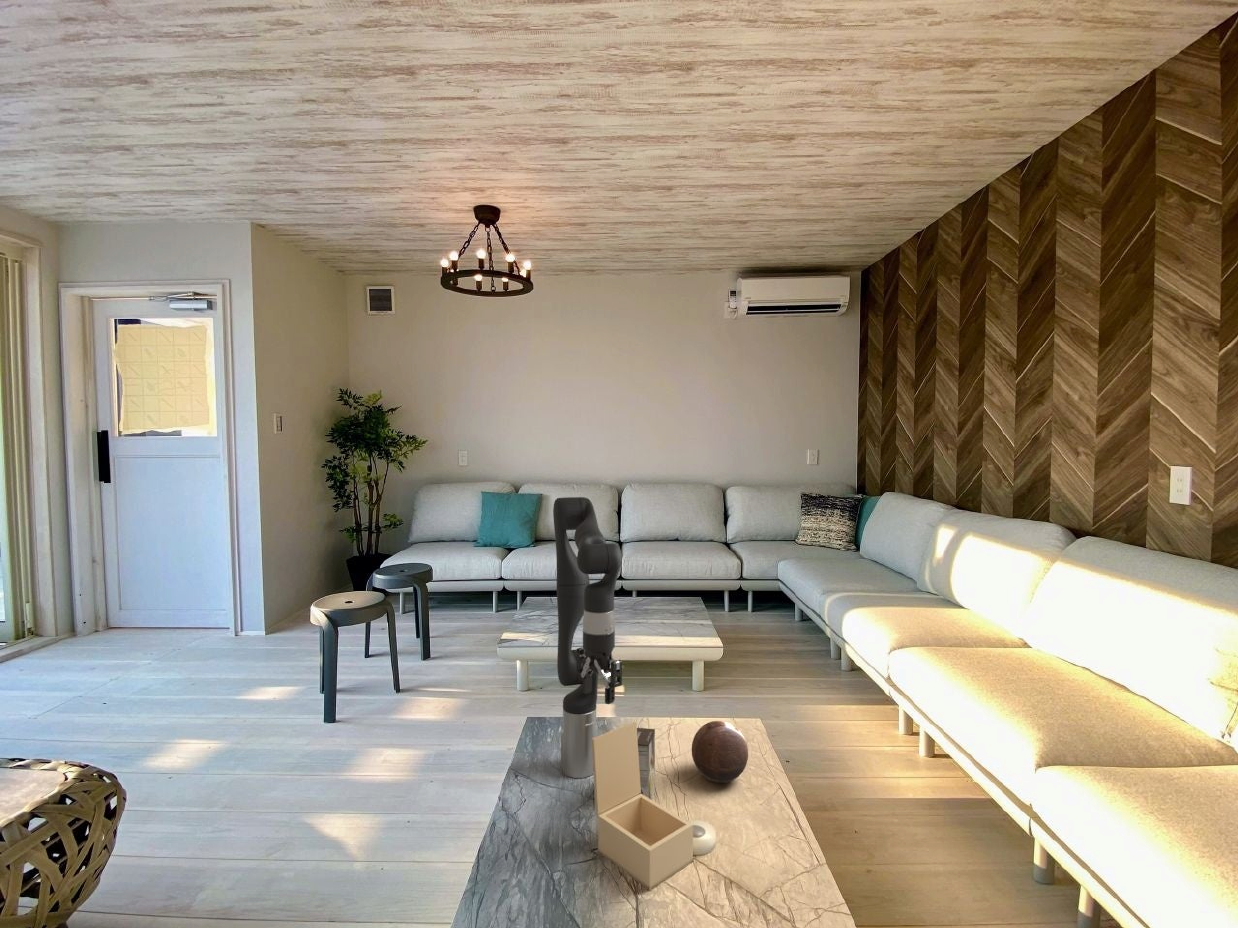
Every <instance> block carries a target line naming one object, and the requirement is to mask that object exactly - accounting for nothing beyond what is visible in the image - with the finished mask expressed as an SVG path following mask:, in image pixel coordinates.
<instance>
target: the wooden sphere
mask: <svg viewBox="0 0 1238 928" xmlns="http://www.w3.org/2000/svg"><path fill="white" fill-rule="evenodd" d="M747 744H748V743H747V741H746V739H745V736H744V735H743V733H742V732H741V731H740V730H739V729H738V728H737V727H736V726H735V725H733V724H732V723H729V722H727V721H722V720H714V721H710V722H707V723H705V724H703V725H702V726H701V727H700V728H699V729H698V730H697V731H696V733H695V734H694V736H693V739H692V743H691V757H692V761H693V763H694V765H695V767H696V769H697V771H699V773H700V774H701V775H702V776H704V777H705V778H706V779H707V780H710V781H712V782H715V783H720V784H721V783H729V782H731V781H734V780H736V779H737V778H738V777H740V776H741V774H742V773H744V770H745V769H746V766H747V764H748V760H749V748H748V745H747Z"/></svg>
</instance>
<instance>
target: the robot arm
mask: <svg viewBox="0 0 1238 928" xmlns="http://www.w3.org/2000/svg"><path fill="white" fill-rule="evenodd" d="M552 511H553V513H552V514H553V515H552V517H553V528H554V529H553V530H554V540H555V541H554V542H555V552H556V601H557V621H558V622H557V624H558V629H557V631H558V633H557V657H556V658H557V661H556V662H557V663H556V664H557V667H556V668H557V677H558V681H559V683H560V685H562V686H564V687H568V686H569V687H570V686H577V685H578V687H577V688H576V689H574V690H572V691H571V692H569V693H567V694H566V695H565V696H564V697H563V700H562V731H561V733H560V768H561V769H562V772H563V774H564V775H566V776H567V777H570V778H574V779H575V778H576V779H583V778H588V777H590V776H592V775H594V772H593V755H592V738H595V737H597V701H598V689H599V687H598V686H599V684H598V683H599V678H600V679H601V680H602V681H603V683H604V686H605V688H604V704H606V705H610V704H611V705H612V704H613V703H614V701H615V699H616V698H615V697H616V695H615V694H616V688H617V687H621V686H622V684H623V661H622V660H621V659H614V658H613V654H612V653H613V651H614V649H615V647H616V645H615V642H616V636H615V635H616V633H615V632H616V618H615V590H616V584H617V580H618V576H619V573H620V569H621V566H622V560H623V554H622V550H621V548H620V547H619V546H618V545H617V544H616V543H609V542H607V541H606V538H605V536H604V535H603V533H602V532H601V530H600V528H599V525H598V524H599V523H598V519H597V515H596V511H595V508H594V504H593V503H592V501H591V500H590V498H588V497H584V496H583V497H582V496H576V497H574V496H571V497H557V498H556V499H555V500H554V502H553V509H552ZM567 531H575V532H574V537H573V538H574V543H575V545H576V547H577V550H578V551H577V554H576V553H575V552H574V550H573V548H572V546H571V544H570V541H569V538H568V533H567ZM589 575H603V577H602V578H601V579H600V580H599V581H595V582H592V583H591V582H590V576H589ZM581 620H582V646H581V647H578V648H576V649H572V647H573V641H574V640H573V639H574V637H575V632H576V630H577V627H578V626H579V624H580V621H581Z"/></svg>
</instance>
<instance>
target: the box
mask: <svg viewBox="0 0 1238 928" xmlns="http://www.w3.org/2000/svg"><path fill="white" fill-rule="evenodd" d="M597 815H598V816H597V817H598V819H597V820H598V821H597V822H598V824H597V829H598V830H597V839H598V841H597V844H598V845H597V852H598V853H599V854H600V855H602V856H603V857H604V858H605V859H607V860H609V861H610V862H611V863H612V864H614V865H615V866H616V867H618V868H619V869H621V871H623V872H624V873H625V874H627V875H629V877H631V878H632V879H633V880H635V881H636V882H638V883H639V884H640V885H642V886H643V887H644V888H646V889H647V890H648V891H651V890H653V889H654V888H656V887H658V886H659V885H660V884H662V883H664V882H665V881H667V880H668V879H669V878H671V877H673V876H674V875H676V874H677V873H678V872H680V871H682V870H683V869H684V868H686V867H687V866H689V865H690V864H692V863H693V862H694V855H693V824H691V823H689V822H688V821H686V819H684V818H683V817H681V816H679V815H678V814H676V813H674V812H673V811H671V810H669V809H667V808H666V807H664V806H662V805H661V804H659V803H657V802H656V801H654V800H653V799H652V800H651V799H649V798H647V797H646V796H644V795H642V794H639V795H637V796H635V797H633V798H631V799H629V800H628V801H626V802H625V801H624V802H622V803H620V804H618V805H616V806H614V807H612V808H610V809H608V810H606V811H604V812H602V813H600V814H597Z"/></svg>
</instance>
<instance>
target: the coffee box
mask: <svg viewBox="0 0 1238 928" xmlns="http://www.w3.org/2000/svg"><path fill="white" fill-rule="evenodd" d="M655 737H656V729H655V728H644V727H637V740H638V755H639V770H640V786H641V793H640V794H642V795H644V796H646V797H647V798H649V799H651V800H652V801H653V798H654V797H653V796H654V793H655V790H656V787H655V786H656V785H655V783H656V782H655V781H656V774H655V773H656V772H655V771H656V770H655V769H656V765H655V762H656V760H655V759H656V753H655V752H656V738H655ZM638 795H639V794H638ZM636 796H637V795H636ZM634 797H635V796H634ZM632 798H633V797H632ZM630 799H631V798H630ZM628 800H629V799H628ZM628 800H626V801H628ZM626 801H624V802H626Z"/></svg>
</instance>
